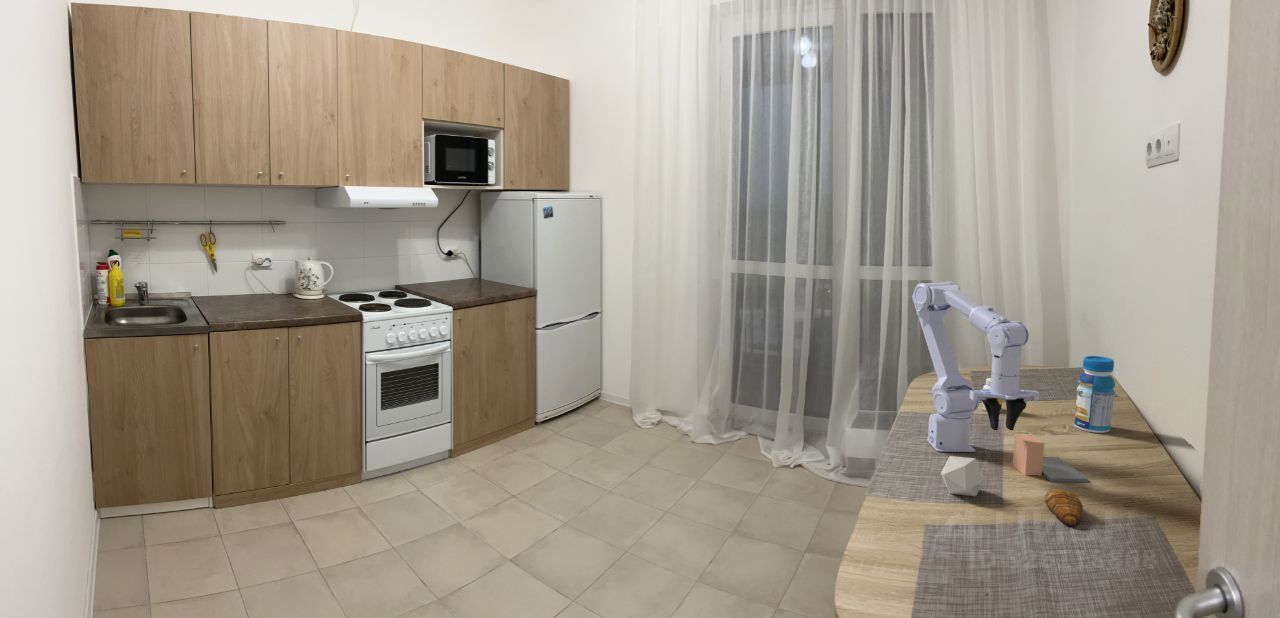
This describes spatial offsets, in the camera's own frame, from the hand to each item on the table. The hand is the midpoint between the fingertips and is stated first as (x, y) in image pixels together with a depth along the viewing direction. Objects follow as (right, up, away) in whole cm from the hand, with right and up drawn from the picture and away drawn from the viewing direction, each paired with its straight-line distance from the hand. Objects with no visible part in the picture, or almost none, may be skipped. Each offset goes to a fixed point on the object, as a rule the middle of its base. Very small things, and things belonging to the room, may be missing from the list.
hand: (1001, 428), depth 146 cm
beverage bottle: (+40, -5, +25) cm, 48 cm away
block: (+7, -10, +1) cm, 12 cm away
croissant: (+2, -14, -18) cm, 23 cm away
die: (-14, -13, -8) cm, 21 cm away
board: (+13, -10, +1) cm, 16 cm away
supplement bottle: (+22, -3, +42) cm, 48 cm away
